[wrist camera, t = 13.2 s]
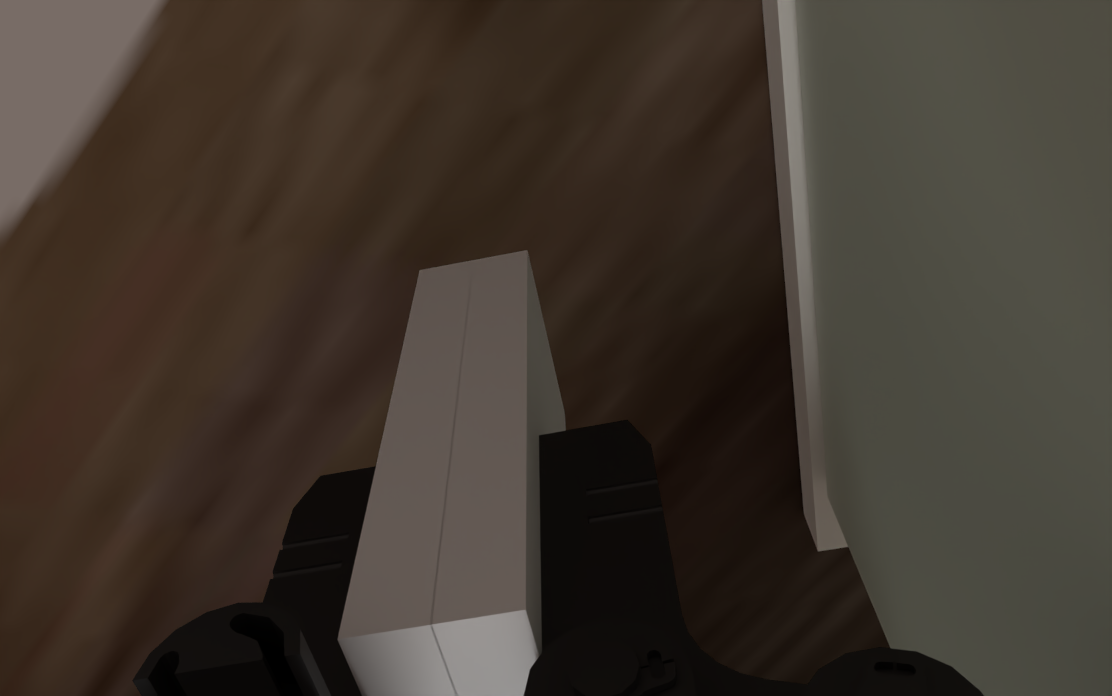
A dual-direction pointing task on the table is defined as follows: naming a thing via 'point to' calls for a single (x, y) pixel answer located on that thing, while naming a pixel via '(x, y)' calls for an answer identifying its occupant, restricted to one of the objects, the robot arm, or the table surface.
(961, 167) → the hood
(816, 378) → the board
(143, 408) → the table surface
